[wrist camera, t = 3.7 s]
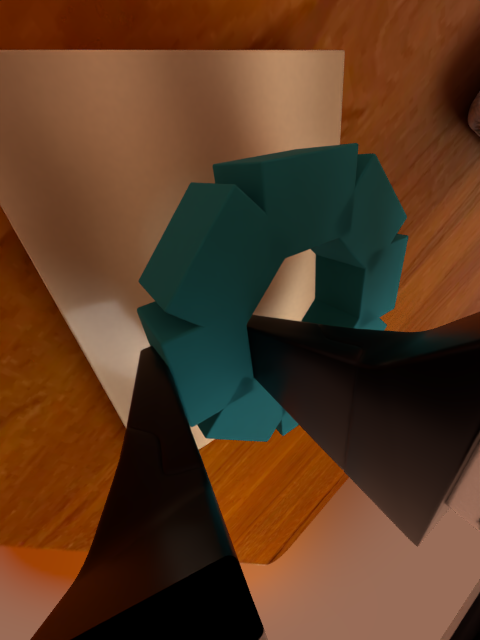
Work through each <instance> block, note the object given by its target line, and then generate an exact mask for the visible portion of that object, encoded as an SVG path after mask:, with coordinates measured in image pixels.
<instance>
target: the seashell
mask: <svg viewBox="0 0 480 640" xmlns="http://www.w3.org/2000/svg"><path fill="white" fill-rule="evenodd" d="M468 124H469V126H470V128H471V129H472V130H473V131H475V133H476V134H477V135H478V136H479V137H480V91H479V93H478V94H477V96H476V97H475V99H474V101H473V103H472V104H471V106H470V109H469V112H468Z"/></svg>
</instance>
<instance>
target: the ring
mask: <svg viewBox="0 0 480 640" xmlns="http://www.w3.org/2000/svg"><path fill="white" fill-rule="evenodd" d="M212 167H213V173H214V179H215V183H197V182H191V183H190V184H189V186H188V188H187V190H186V192H185V194H184V196H183V197H182V199H181V201H180V203H179V205H178V207H177V209H176V211H175V213H174V214H173V216H172V218H171V220H170V222H169V224H168V226H167V228H166V230H165V231H164V233H163V235H162V237H161V239H160V241H159V243H158V245H157V247H156V248H155V250H154V252H153V254H152V256H151V258H150V260H149V262H148V263H147V265H146V267H145V269H144V271H143V273H142V275H141V277H140V279H139V283H140V284H141V286H142V287H143V288H144V289H145V290H146V291H147V292H148V293H149V295H150V296H151V297H152V298H153V299H154V300H155V301H154V302H152V303H149V304H146V305H144V306H141V307H138V308H137V313H138V316H139V318H140V321H141V324H142V326H143V329H144V331H145V334H146V337H147V339H148V342H149V344H150V346H153V347H154V348H155V350H156V351H157V352H158V354H159V355H160V356H161V358H162V359H163V360H164V362H165V363H166V365H167V366H168V368H169V370H170V373H171V376H172V378H173V381H174V384H175V387H176V389H177V392H178V395H179V398H180V400H181V403H182V406H183V409H184V411H185V414H186V417H187V420H188V423H189V425H190V427H194V426H195V425H198V427H199V429H200V430H201V432H202V434H203V435H204V437H205V438H208V439H226V440H245V441H264V442H267V441H268V440H269V439H270V437H271V435H272V434H273V432H274V431H275V429H277V430H278V431H279V432H280V434H281V435H282V436H284V435H285V434H286V433H288V432H289V431H291V430H292V429H294V428H295V427H296V426H298V425H299V424H298V423H297V422H296V421H295V420H294V419H293V418H292V417H291V416H290V415H289V414H288V412H287V411H286V410H285V409H284V408H283V407H282V406H281V405H280V404H279V403H278V402H277V401H276V400H275V399H274V398H273V397H272V396H271V395H270V394H269V393H268V392H267V391H266V390H265V389H264V388H263V387H262V385H261V384H260V383H259V382H258V381H257V380H256V379H255V377H254V375H253V368H252V361H251V354H250V347H249V339H248V332H247V323H248V321H249V320H250V318H251V316H252V314H253V313H254V311H255V309H256V308H257V306H258V304H259V302H260V301H261V299H262V297H263V296H264V294H265V292H266V290H267V289H268V287H269V285H270V284H271V282H272V280H273V278H274V277H275V275H276V273H277V272H278V270H279V268H280V266H281V265H282V263H283V261H284V260H285V258H288V257H290V256H293V255H296V254H298V253H301V252H304V251H306V250H309V249H311V250H312V251H313V252H314V253H315V254H316V261H315V299H314V301H313V302H312V304H311V306H310V307H309V309H308V311H307V312H306V314H305V315H304V317H303V319H302V320H301V321H302V322H309V323H316V324H318V325H319V324H323V325H330V326H338V327H347V328H358V329H370V330H383V331H384V330H385V328H386V326H387V325H386V324H385V323H384V322H383V321H382V320H381V319H380V318H379V317H381V316H382V315H384V314H386V313H387V312H389V311H391V310H393V309H394V307H395V302H396V297H397V292H398V287H399V282H400V277H401V272H402V266H403V261H404V256H405V251H406V246H407V241H408V236H407V235H401V234H397V233H398V231H399V229H400V228H401V226H402V225H403V223H404V221H405V220H406V218H407V216H406V214H405V212H404V210H403V208H402V206H401V204H400V202H399V200H398V198H397V196H396V194H395V192H394V190H393V188H392V186H391V184H390V182H389V180H388V178H387V176H386V174H385V172H384V170H383V168H382V166H381V164H380V162H379V160H378V158H377V156H376V155H375V154H358V144H357V143H352V144H342V145H332V146H322V147H312V148H302V149H294V150H289V151H283V152H278V153H272V154H267V155H261V156H256V157H250V158H244V159H239V160H233V161H228V162H222V163H217V164H213V166H212Z"/></svg>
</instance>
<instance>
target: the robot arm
mask: <svg viewBox="0 0 480 640" xmlns="http://www.w3.org/2000/svg"><path fill="white" fill-rule="evenodd" d="M247 332H248V339H249V347H250V354H251V361H252V368H253V375H254V377H255V379H256V380H257V381H258V382H259V383H260V384H261V385H262V387H263V388H264V389H265V390H266V391H267V392H268V393H269V394H270V395H271V396H272V397H273V398H274V399H275V400H276V401H277V402H278V403H279V404H280V405H281V406H282V407H283V408H284V409H285V410H286V411H287V412H288V414H289V415H290V416H291V417H292V418H293V419H294V420H295V421H296V422H297V423H298V424H299V425H300V426H301V427H302V428H303V429H304V430H305V431H306V432H307V433H308V434H309V435H310V436H311V437H312V438H313V440H314V441H315V442H316V443H317V444H318V445H319V446H320V447H321V448H322V449H323V450H324V451H325V452H326V453H327V454H328V455H329V456H330V457H331V458H332V459H333V460H334V461H335V462H336V463H337V464H338V466H339V467H340V468H341V469H343V470H344V472H345V473H346V474H347V475H348V476H349V477H350V478H351V479H352V480H353V481H354V482H355V483H356V484H357V485H358V487H359V488H360V489H361V490H362V491H363V492H364V493H365V494H366V495H367V496H368V497H369V498H370V499H371V500H372V501H373V502H374V503H375V504H376V505H377V506H378V507H379V508H380V509H381V510H382V511H383V513H384V514H385V515H386V516H387V517H388V518H389V519H390V520H391V521H392V522H393V523H394V524H395V525H396V526H397V527H398V528H399V529H400V530H401V531H402V532H403V533H404V534H405V535H406V536H407V537H408V539H410V540H411V541H412V542H413V543H414V544H415V545H416V546H419V545H420V544H421V542H422V541H423V540H424V539H425V538H426V536H427V535H428V534H429V533H430V531H431V530H432V529H433V528H434V527H435V525H436V524H437V523H438V522H439V521H440V519H441V518H442V517H443V516H444V514H445V513H446V512H447V511H448V510H449V508H451V509H452V510H453V511H454V512H456V513H457V514H458V515H459V516H461V517H462V518H463V519H464V520H466V521H467V522H468V523H469V524H470V525H472V526H473V527H474V528H475V529H476V530H478V531H479V532H480V312H478V313H475V314H473V315H470V316H467V317H464V318H462V319H459V320H456V321H454V322H451V323H448V324H446V325H443V326H440V327H438V328H435V329H431V330H427V331H421V332H396V331H383V330H370V329H358V328H347V327H338V326H330V325H323V324H319V325H318V324H316V323H309V322H302V321H295V320H288V319H280V318H273V317H266V316H259V315H252V316H251V318H250V320H249V321H248V323H247ZM31 640H268V639H267V636H266V633H265V630H264V628H263V625H262V622H261V620H260V617H259V615H258V612H257V609H256V607H255V604H254V602H253V599H252V596H251V594H250V591H249V588H248V585H247V583H246V580H245V577H244V574H243V572H242V569H241V566H240V563H239V561H238V558H237V555H236V552H235V550H234V547H233V544H232V541H231V539H230V536H229V533H228V530H227V527H226V525H225V522H224V519H223V516H222V514H221V511H220V508H219V505H218V503H217V500H216V497H215V494H214V492H213V489H212V486H211V483H210V481H209V478H208V475H207V472H206V469H205V467H204V464H203V461H202V458H201V456H200V453H199V450H198V447H197V445H196V442H195V439H194V436H193V434H192V431H191V428H190V425H189V423H188V420H187V417H186V414H185V411H184V409H183V406H182V403H181V400H180V398H179V395H178V392H177V389H176V387H175V384H174V381H173V378H172V376H171V373H170V370H169V368H168V366H167V365H166V363H165V362H164V360H163V359H162V358H161V356H160V355H159V354H158V352H157V351H156V350H155V348H154V347H153V346H150V347H147V348H145V349H143V350H141V352H140V356H139V362H138V367H137V372H136V378H135V383H134V389H133V394H132V399H131V405H130V410H129V416H128V421H127V428H126V431H125V436H124V442H123V446H122V450H121V455H120V459H119V463H118V466H117V469H116V472H115V476H114V479H113V482H112V485H111V488H110V491H109V494H108V497H107V500H106V503H105V506H104V509H103V512H102V515H101V518H100V521H99V524H98V527H97V530H96V534H95V537H94V540H93V542H92V545H91V548H90V551H89V553H88V555H87V558H86V560H85V562H84V565H83V567H82V568H81V570H80V572H79V574H78V576H77V578H76V579H75V581H74V582H73V584H72V585H71V587H70V588H69V589H68V591H67V592H66V594H65V595H64V596H63V597H62V599H61V600H60V601H59V603H58V604H57V605H56V607H55V608H54V609H53V611H52V612H51V613H50V615H49V616H48V617H47V619H46V620H45V621H44V622H43V624H42V625H41V626H40V628H39V629H38V630H37V632H36V633H35V634H34V636H33V637H32V638H31ZM441 640H480V580H479V581H478V583H477V585H476V586H475V587H474V589H473V591H472V592H471V594H470V595H469V597H468V598H467V600H466V601H465V603H464V604H463V606H462V607H461V609H460V610H459V612H458V613H457V615H456V617H455V618H454V620H453V621H452V623H451V624H450V626H449V627H448V629H447V630H446V632H445V633H444V635H443V636H442V638H441Z"/></svg>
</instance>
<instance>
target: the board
mask: <svg viewBox="0 0 480 640" xmlns="http://www.w3.org/2000/svg"><path fill="white" fill-rule="evenodd" d="M344 55H345V51H344V50H0V206H1V207H2V209H3V211H4V213H5V214H6V216H7V218H8V220H9V222H10V223H11V225H12V227H13V229H14V230H15V232H16V234H17V236H18V238H19V239H20V241H21V243H22V245H23V246H24V248H25V250H26V252H27V253H28V255H29V257H30V259H31V261H32V262H33V264H34V266H35V268H36V269H37V271H38V273H39V275H40V277H41V278H42V280H43V282H44V284H45V285H46V287H47V289H48V291H49V293H50V294H51V296H52V298H53V300H54V301H55V303H56V305H57V307H58V309H59V310H60V312H61V314H62V316H63V317H64V319H65V321H66V323H67V325H68V326H69V328H70V330H71V332H72V333H73V335H74V337H75V339H76V340H77V342H78V344H79V346H80V348H81V349H82V351H83V353H84V355H85V356H86V358H87V360H88V362H89V364H90V365H91V367H92V369H93V371H94V372H95V374H96V376H97V378H98V380H99V381H100V383H101V385H102V387H103V388H104V390H105V392H106V394H107V396H108V397H109V399H110V401H111V403H112V404H113V406H114V408H115V410H116V411H117V413H118V415H119V417H120V419H121V420H122V422H123V424H124V426H125V427H126V428H127V421H128V416H129V410H130V405H131V399H132V394H133V389H134V383H135V378H136V372H137V367H138V362H139V356H140V352H141V350H143V349H145V348H147V347H150V344H149V342H148V339H147V337H146V334H145V331H144V329H143V326H142V324H141V321H140V318H139V316H138V313H137V308H138V307H141V306H144V305H146V304H149V303H152V302H154V301H155V300H154V299H153V298H152V297H151V296H150V295H149V293H148V292H147V291H146V290H145V289H144V288H143V287H142V286H141V284H140V283H139V279H140V277H141V275H142V273H143V271H144V269H145V267H146V265H147V263H148V262H149V260H150V258H151V256H152V254H153V252H154V250H155V248H156V247H157V245H158V243H159V241H160V239H161V237H162V235H163V233H164V231H165V230H166V228H167V226H168V224H169V222H170V220H171V218H172V216H173V214H174V213H175V211H176V209H177V207H178V205H179V203H180V201H181V199H182V197H183V196H184V194H185V192H186V190H187V188H188V186H189V184H190V183H191V182H197V183H215V179H214V173H213V167H212V166H213V164H217V163H222V162H228V161H233V160H239V159H244V158H250V157H256V156H261V155H267V154H272V153H278V152H283V151H289V150H294V149H302V148H312V147H322V146H332V145H340V132H341V113H342V93H343V74H344ZM315 261H316V254H315V253H314V252H313V251H312V250H311V249H309V250H306V251H304V252H301V253H298V254H296V255H293V256H290V257H288V258H285V260H284V261H283V263H282V265H281V266H280V268H279V270H278V272H277V273H276V275H275V277H274V278H273V280H272V282H271V284H270V285H269V287H268V289H267V290H266V292H265V294H264V296H263V297H262V299H261V301H260V302H259V304H258V306H257V308H256V309H255V311H254V313H253V314H252V315H259V316H266V317H273V318H280V319H288V320H295V321H301V320H302V319H303V317H304V315H305V314H306V312H307V311H308V309H309V307H310V306H311V304H312V302H313V301H314V299H315ZM190 428H191V431H192V434H193V436H194V439H195V442H196V445H197V447H198V450H199V449H200V448H202V447H203V446H205V445H206V444H208V443H210V442H211V441H213V440H214V439H208V438H205V437H204V435H203V434H202V432H201V430H200V429H199V427H198V425H195V426H194V427H190Z"/></svg>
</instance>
